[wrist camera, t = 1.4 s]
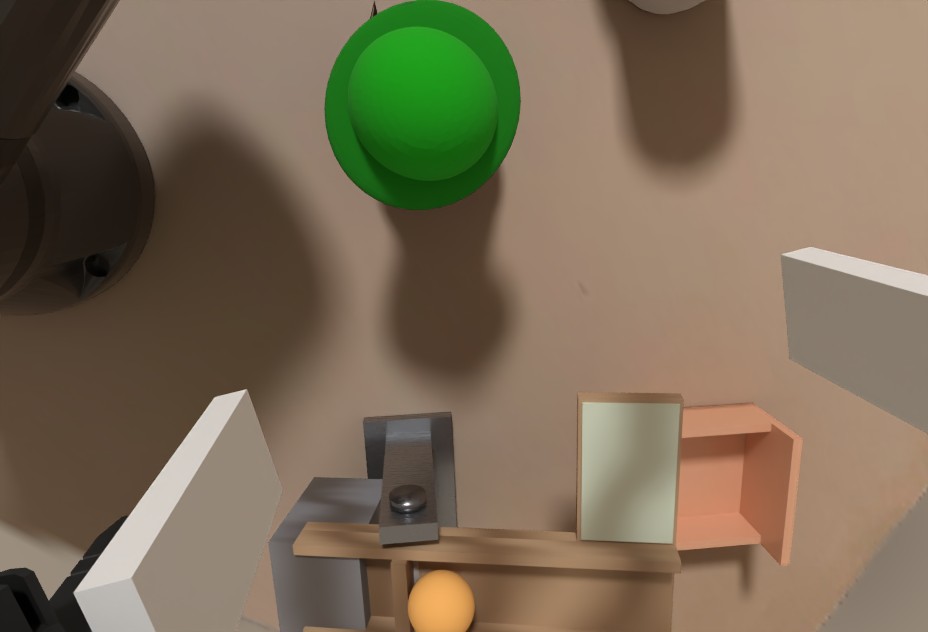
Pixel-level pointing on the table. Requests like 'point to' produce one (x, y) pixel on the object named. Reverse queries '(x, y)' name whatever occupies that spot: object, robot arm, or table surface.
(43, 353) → the table surface
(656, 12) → the cup
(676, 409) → the lever
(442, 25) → the toy
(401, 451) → the bracket
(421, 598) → the ball
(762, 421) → the pink open box
